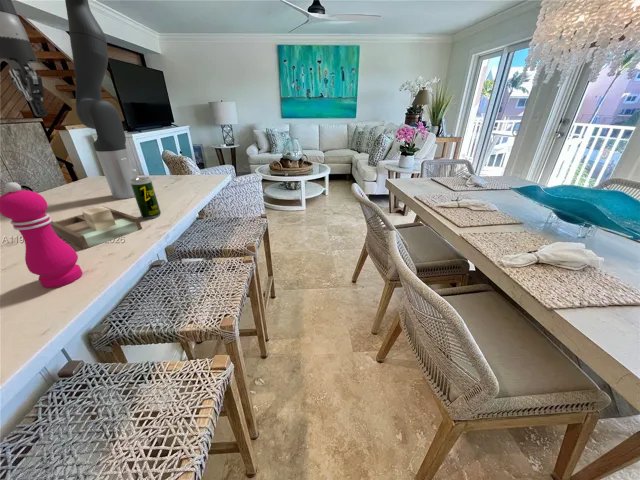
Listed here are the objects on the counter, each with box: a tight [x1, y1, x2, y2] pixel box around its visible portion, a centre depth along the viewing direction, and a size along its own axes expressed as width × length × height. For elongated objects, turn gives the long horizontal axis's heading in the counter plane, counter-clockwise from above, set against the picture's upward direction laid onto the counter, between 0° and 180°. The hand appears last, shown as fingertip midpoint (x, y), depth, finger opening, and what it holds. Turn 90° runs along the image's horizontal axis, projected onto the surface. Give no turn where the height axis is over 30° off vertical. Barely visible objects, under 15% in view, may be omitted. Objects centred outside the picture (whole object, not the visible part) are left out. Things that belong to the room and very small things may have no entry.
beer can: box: [131, 176, 162, 220], centre depth 82 cm, size 5×5×12 cm
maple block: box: [81, 205, 116, 231], centre depth 70 cm, size 4×4×4 cm
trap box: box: [50, 205, 143, 250], centre depth 74 cm, size 14×20×3 cm
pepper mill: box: [0, 181, 83, 289], centre depth 49 cm, size 7×7×20 cm
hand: (42, 116), depth 72 cm, fingers closed
